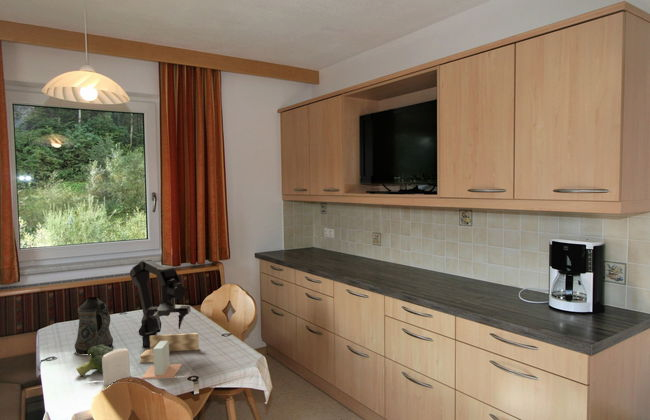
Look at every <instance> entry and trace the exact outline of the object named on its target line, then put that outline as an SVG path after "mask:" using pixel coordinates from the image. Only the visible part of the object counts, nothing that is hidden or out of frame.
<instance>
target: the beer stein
mask: <svg viewBox="0 0 650 420" xmlns="http://www.w3.org/2000/svg"><path fill="white" fill-rule="evenodd" d="M77 313H78V314H79V319H78V328H77V336H76V341H75V343H74V347H73V348H75V352H77V353H79V354H88V349H90V348H91V347H93V346H98V345H101V344H103V345H105V346H108V347H110V348H111V349H112V347H113V343H114V339H113V337H112V333H111V330H110V328H109V327H110V324H111V315H110V312H109V310H107V304H106V303H105V302H103V301H102V300H100V299H99V298H98V296H92V297H88V298H87V299H85V301H84V303H82V304H81V305H80V306H79V307H78V308H77ZM77 353H76V354H77ZM79 354H78V355H79Z"/></svg>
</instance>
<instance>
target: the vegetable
mask: <svg viewBox="0 0 650 420" xmlns="http://www.w3.org/2000/svg"><path fill="white" fill-rule="evenodd" d="M111 351H113V348H112V347H111V348H110V347H108V346H105V345H103V344H101V345H98V346H93V347H91V348H90V349H88V355H87V356H90V357H89V359H88V361H87V362H86V363H85V362H84V363H83V364H81V365H80V366H77V367H76V371H77V372H78V374H79V376H80V377H82V376H81V375H83V376H86V374H88V372H90V371H92V370H98V373H100V374H102V375H103V368H102V357H103V356H104V355H105V354H107V353H109V352H111ZM90 354H91V355H90Z"/></svg>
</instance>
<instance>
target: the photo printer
mask: <svg viewBox="0 0 650 420" xmlns="http://www.w3.org/2000/svg"><path fill="white" fill-rule="evenodd" d="M129 352H130V351H129V350H128V349H127V348H117V349H115V350H113V351H111V352H109V353H107V354H105V355H104V356H103V357H102V368H103V374H102V379H103V385H104V386H110V385H112V384H111V383H113V382H114V381H115V380H117V379H119V378H123V377H128V378H130V377H131V362H130V360H131V359H130V353H129ZM113 384H114V383H113Z"/></svg>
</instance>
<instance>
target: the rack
mask: <svg viewBox="0 0 650 420" xmlns="http://www.w3.org/2000/svg"><path fill="white" fill-rule="evenodd" d="M160 341H169V354H170V353H171V352H176V351H179V352H180V351H194V350H195V351H196V350H199V349H200V345H199V344H200V343H199V333H197V332H194V333H175V334H157V335H152V336H150V347H149V349H154V347H155V346H156V345H157V344H158V343H159V342H160Z"/></svg>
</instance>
